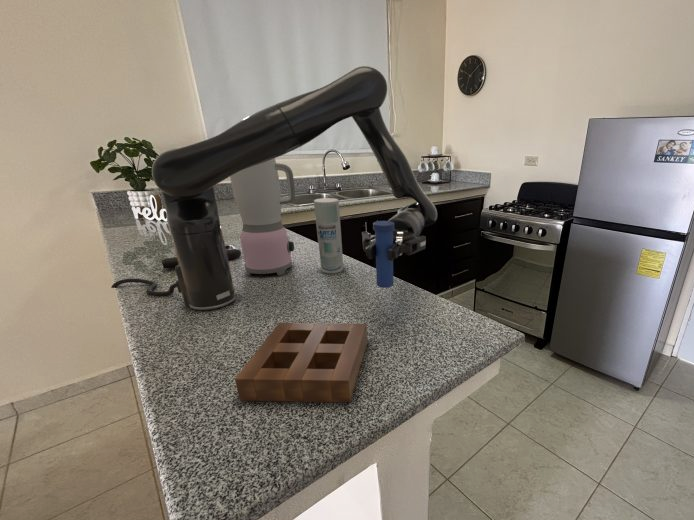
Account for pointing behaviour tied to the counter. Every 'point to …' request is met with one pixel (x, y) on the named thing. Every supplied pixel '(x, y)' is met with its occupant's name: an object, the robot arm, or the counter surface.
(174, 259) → the door handle
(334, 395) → the holder
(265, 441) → the counter surface
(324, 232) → the spray can
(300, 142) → the robot arm
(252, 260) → the blender
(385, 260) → the blue peg
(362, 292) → the counter surface
